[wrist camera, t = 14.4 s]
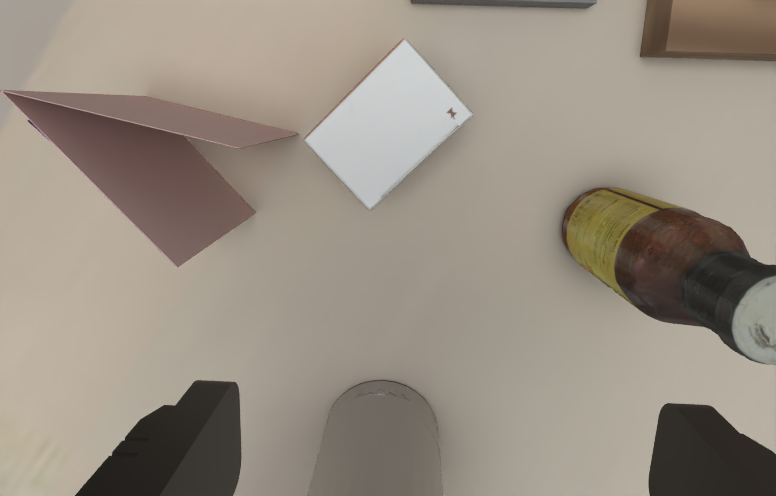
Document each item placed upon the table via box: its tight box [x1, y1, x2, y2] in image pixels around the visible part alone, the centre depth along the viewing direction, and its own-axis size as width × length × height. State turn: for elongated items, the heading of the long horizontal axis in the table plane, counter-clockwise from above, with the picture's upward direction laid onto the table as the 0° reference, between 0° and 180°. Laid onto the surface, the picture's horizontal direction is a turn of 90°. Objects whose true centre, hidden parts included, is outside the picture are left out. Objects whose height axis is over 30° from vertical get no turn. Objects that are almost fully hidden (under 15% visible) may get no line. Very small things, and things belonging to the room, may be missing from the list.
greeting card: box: [1, 90, 298, 267], centre depth 34 cm, size 11×7×15 cm, turn 42°
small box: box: [304, 39, 473, 210], centre depth 36 cm, size 8×6×10 cm
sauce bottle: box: [563, 188, 776, 365], centre depth 32 cm, size 6×6×20 cm
